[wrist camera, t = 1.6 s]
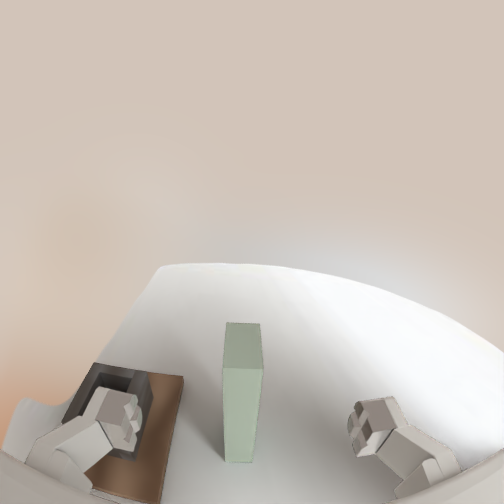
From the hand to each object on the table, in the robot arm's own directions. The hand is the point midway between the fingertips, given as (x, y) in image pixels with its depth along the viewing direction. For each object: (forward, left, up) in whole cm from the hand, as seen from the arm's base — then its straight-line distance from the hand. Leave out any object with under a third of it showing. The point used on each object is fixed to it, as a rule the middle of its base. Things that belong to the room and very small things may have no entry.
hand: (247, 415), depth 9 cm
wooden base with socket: (+15, -12, -22) cm, 29 cm away
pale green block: (0, -12, -22) cm, 25 cm away
